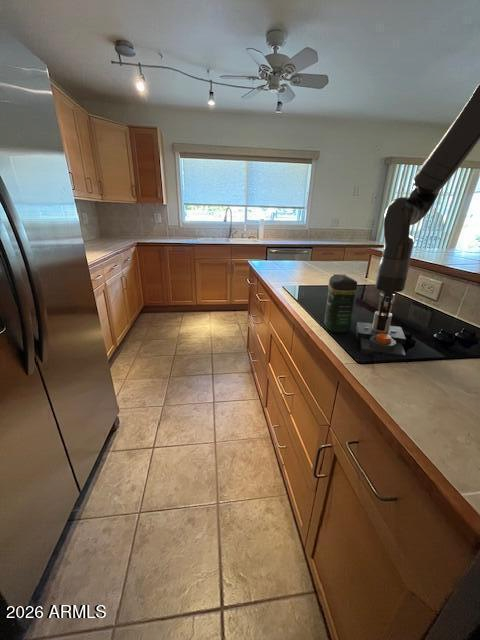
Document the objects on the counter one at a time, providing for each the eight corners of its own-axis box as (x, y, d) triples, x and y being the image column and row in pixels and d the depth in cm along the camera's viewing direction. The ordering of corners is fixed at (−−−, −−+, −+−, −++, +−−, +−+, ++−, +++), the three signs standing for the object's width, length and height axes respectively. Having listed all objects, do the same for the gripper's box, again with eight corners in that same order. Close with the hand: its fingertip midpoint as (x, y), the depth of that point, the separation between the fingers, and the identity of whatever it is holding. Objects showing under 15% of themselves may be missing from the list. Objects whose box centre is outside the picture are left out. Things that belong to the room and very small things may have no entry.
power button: (389, 339, 76) (390, 334, 75) (390, 345, 73) (392, 339, 72) (375, 337, 77) (376, 332, 77) (376, 343, 74) (377, 337, 74)
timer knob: (372, 325, 86) (375, 308, 83) (388, 328, 83) (392, 311, 81) (371, 331, 82) (374, 314, 79) (388, 334, 80) (392, 316, 77)
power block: (400, 348, 78) (403, 337, 76) (404, 360, 72) (407, 349, 70) (360, 342, 81) (362, 332, 80) (360, 353, 75) (362, 342, 74)
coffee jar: (353, 334, 87) (362, 279, 79) (329, 334, 87) (336, 280, 79) (343, 322, 96) (350, 272, 88) (321, 322, 96) (327, 272, 88)
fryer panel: (399, 335, 85) (401, 326, 84) (403, 348, 78) (406, 338, 76) (356, 329, 90) (357, 321, 89) (356, 341, 82) (358, 332, 81)
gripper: (407, 280, 68) (393, 338, 75) (406, 269, 79) (394, 320, 86) (375, 277, 71) (365, 333, 78) (379, 267, 83) (369, 316, 90)
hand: (380, 326), depth 82 cm, fingers closed on timer knob, 5 cm apart
